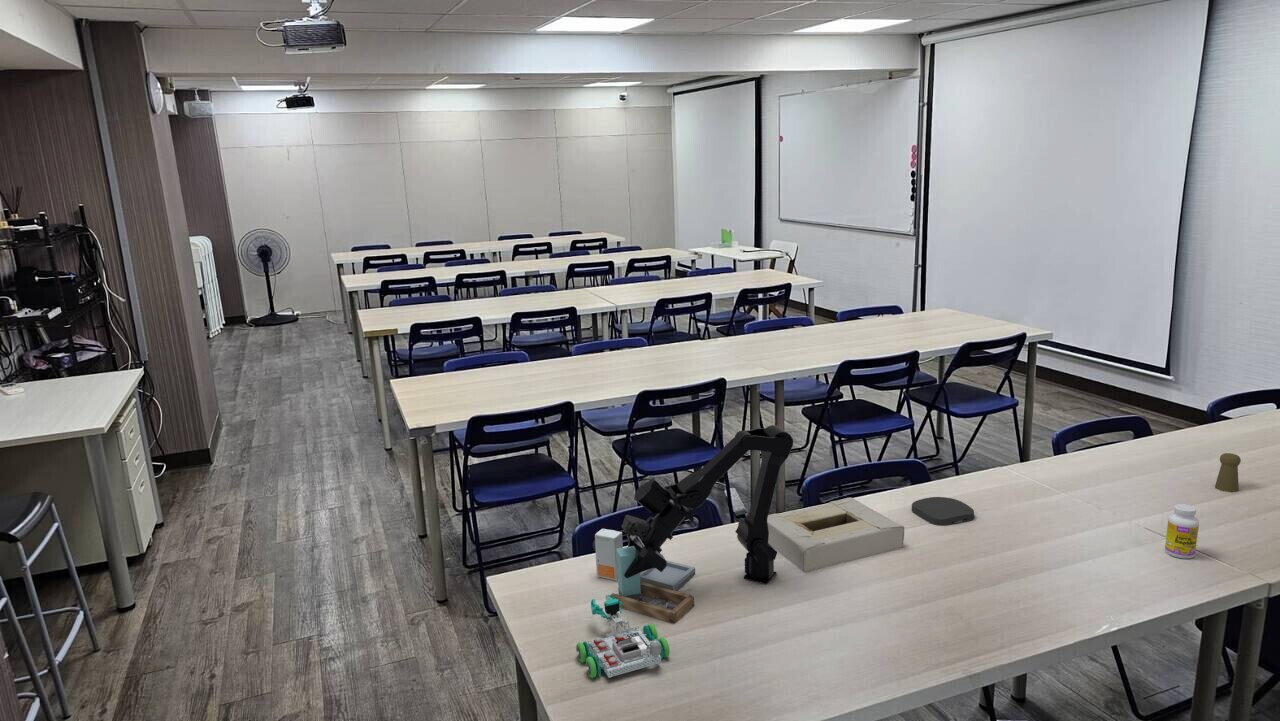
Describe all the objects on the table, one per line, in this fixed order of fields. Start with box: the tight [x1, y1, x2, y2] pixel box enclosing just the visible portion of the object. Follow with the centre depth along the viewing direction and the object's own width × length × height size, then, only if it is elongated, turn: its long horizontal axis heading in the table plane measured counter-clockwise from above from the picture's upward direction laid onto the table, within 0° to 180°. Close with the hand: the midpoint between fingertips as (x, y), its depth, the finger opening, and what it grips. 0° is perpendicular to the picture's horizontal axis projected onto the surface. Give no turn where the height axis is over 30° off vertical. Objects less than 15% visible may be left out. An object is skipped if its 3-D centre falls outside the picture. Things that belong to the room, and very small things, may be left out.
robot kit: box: [575, 594, 670, 679], centre depth 184 cm, size 19×25×9 cm
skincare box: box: [594, 528, 624, 582], centre depth 216 cm, size 6×4×12 cm
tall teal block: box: [616, 546, 642, 601], centre depth 204 cm, size 5×5×12 cm
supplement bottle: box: [1164, 503, 1200, 560], centre depth 215 cm, size 7×7×13 cm
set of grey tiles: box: [647, 597, 680, 610], centre depth 199 cm, size 9×7×1 cm
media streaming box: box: [911, 496, 975, 526], centre depth 247 cm, size 15×15×3 cm
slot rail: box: [609, 581, 695, 625], centre depth 202 cm, size 18×9×2 cm, turn 57°
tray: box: [640, 559, 696, 592], centre depth 214 cm, size 11×11×2 cm
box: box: [767, 497, 905, 573], centre depth 230 cm, size 23×8×32 cm
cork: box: [1214, 452, 1241, 493], centre depth 256 cm, size 6×6×11 cm
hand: (623, 572), depth 203 cm, fingers closed on tall teal block, 4 cm apart
